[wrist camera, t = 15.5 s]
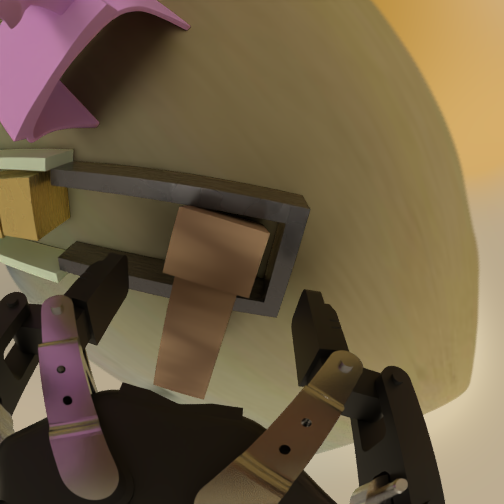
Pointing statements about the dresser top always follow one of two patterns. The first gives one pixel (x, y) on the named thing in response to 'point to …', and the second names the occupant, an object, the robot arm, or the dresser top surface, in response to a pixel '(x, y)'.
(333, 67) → the dresser top surface
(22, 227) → the tan wooden cube
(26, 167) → the tray
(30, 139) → the toy chair
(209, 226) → the brown wooden block
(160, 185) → the slot rail
